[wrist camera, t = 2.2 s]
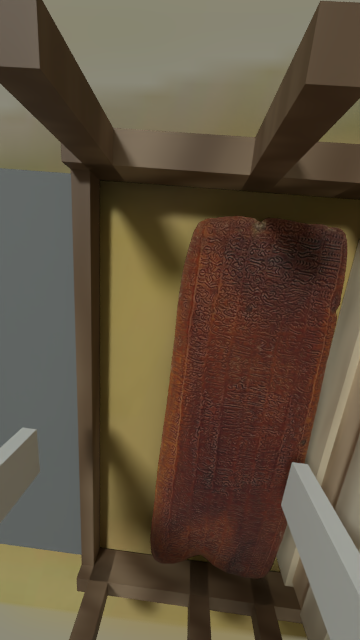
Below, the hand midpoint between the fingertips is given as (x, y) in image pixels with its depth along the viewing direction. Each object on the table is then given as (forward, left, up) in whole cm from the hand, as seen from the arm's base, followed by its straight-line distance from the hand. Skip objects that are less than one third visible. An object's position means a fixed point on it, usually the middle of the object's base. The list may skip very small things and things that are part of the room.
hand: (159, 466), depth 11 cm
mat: (-12, 0, -4) cm, 13 cm away
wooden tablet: (0, 0, -4) cm, 4 cm away
